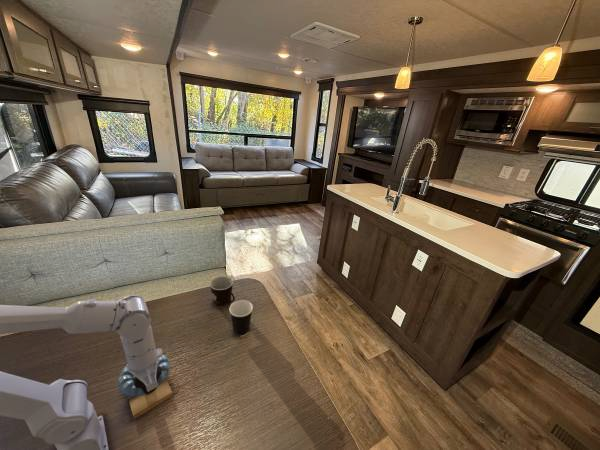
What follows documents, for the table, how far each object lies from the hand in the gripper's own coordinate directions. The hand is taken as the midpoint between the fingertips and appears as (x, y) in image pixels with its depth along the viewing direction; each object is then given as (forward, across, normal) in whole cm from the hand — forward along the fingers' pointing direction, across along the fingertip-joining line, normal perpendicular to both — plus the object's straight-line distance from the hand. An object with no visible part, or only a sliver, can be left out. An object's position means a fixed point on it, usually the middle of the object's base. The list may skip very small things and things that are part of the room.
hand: (149, 385), depth 61 cm
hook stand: (+8, +4, 0) cm, 9 cm away
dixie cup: (+8, +7, -30) cm, 32 cm away
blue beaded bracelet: (0, +4, 0) cm, 4 cm away
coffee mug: (+8, +23, -31) cm, 40 cm away
